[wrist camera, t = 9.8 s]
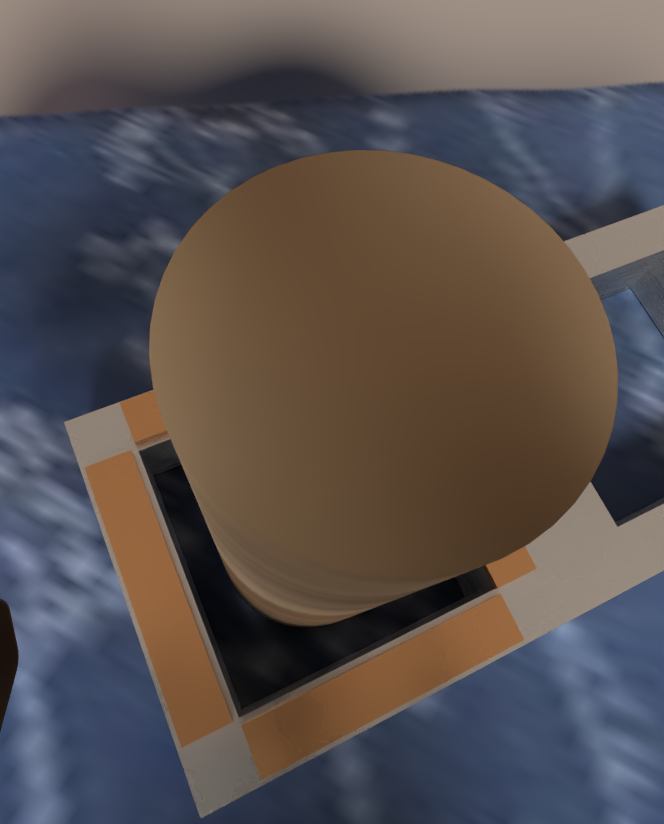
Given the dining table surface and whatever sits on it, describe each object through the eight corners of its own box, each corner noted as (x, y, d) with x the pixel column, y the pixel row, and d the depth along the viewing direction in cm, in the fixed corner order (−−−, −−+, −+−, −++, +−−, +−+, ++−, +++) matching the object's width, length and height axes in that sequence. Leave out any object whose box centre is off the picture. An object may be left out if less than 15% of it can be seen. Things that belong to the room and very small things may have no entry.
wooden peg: (307, 667, 18) (409, 703, 6) (185, 538, 18) (44, 323, 6) (424, 539, 19) (702, 350, 7) (307, 426, 20) (378, 85, 8)
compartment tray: (208, 794, 16) (199, 821, 14) (88, 450, 19) (60, 418, 16) (805, 479, 21) (881, 455, 19) (640, 242, 24) (686, 193, 21)
